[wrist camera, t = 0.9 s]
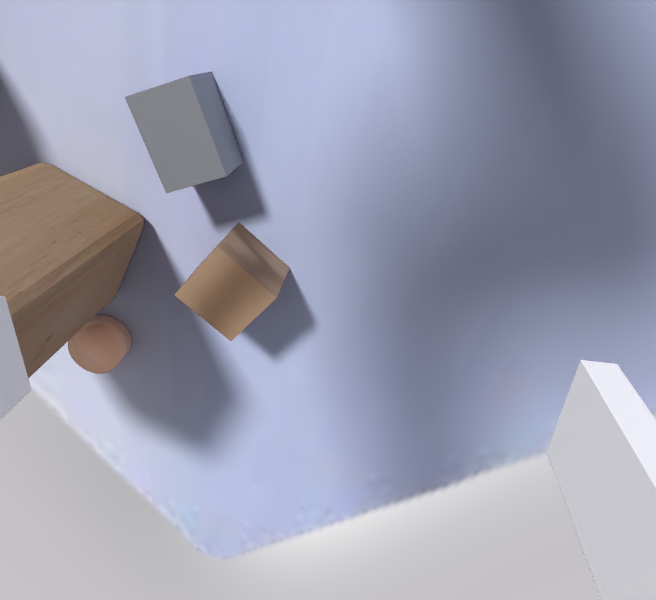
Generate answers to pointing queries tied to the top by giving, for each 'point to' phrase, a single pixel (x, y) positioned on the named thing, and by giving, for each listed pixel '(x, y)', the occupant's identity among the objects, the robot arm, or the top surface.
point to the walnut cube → (234, 282)
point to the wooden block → (59, 255)
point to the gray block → (186, 131)
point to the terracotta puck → (100, 344)
